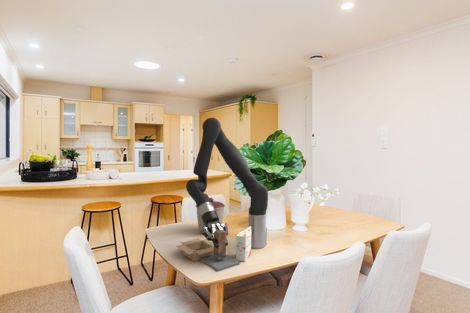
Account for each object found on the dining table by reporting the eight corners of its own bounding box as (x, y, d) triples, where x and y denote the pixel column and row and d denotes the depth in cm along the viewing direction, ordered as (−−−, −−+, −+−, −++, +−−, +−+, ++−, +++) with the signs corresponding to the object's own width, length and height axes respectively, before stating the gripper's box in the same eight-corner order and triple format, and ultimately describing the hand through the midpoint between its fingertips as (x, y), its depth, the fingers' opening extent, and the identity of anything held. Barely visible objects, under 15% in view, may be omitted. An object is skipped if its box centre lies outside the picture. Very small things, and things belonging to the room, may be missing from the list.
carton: (204, 244, 146) (204, 237, 146) (224, 255, 132) (224, 247, 132) (173, 252, 135) (173, 244, 134) (191, 265, 120) (191, 256, 120)
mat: (221, 254, 134) (221, 252, 134) (239, 264, 123) (239, 262, 123) (200, 260, 126) (200, 257, 126) (217, 271, 115) (217, 269, 115)
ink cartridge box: (241, 253, 135) (242, 224, 134) (251, 255, 133) (251, 225, 132) (235, 260, 127) (235, 229, 126) (245, 262, 125) (246, 230, 124)
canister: (188, 233, 163) (189, 198, 162) (205, 225, 179) (206, 194, 178) (214, 239, 155) (215, 202, 154) (230, 230, 171) (230, 197, 170)
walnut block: (220, 254, 127) (221, 229, 127) (225, 257, 124) (226, 231, 124) (213, 256, 125) (214, 230, 124) (218, 259, 122) (219, 233, 121)
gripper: (198, 211, 125) (212, 245, 116) (223, 207, 134) (238, 239, 125) (192, 220, 129) (205, 253, 120) (217, 215, 138) (231, 246, 129)
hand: (222, 246), depth 123 cm, fingers open, 4 cm apart
